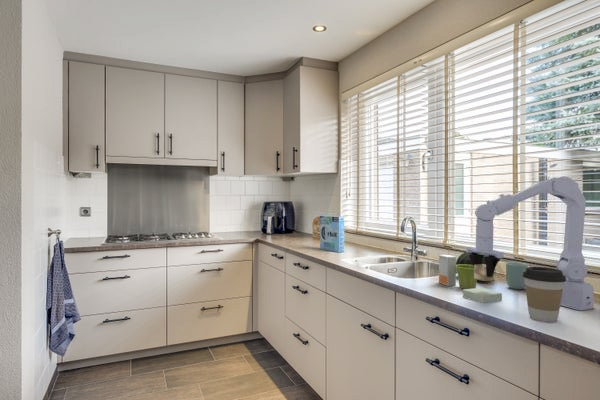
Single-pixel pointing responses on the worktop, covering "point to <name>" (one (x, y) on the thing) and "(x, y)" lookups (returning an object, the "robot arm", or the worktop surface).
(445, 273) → the skincare box
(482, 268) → the maple block
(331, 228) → the gum box
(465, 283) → the plant pot
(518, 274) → the cup
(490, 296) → the sage block
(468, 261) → the squash
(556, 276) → the coffee cup
